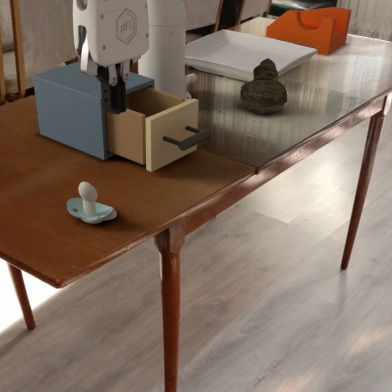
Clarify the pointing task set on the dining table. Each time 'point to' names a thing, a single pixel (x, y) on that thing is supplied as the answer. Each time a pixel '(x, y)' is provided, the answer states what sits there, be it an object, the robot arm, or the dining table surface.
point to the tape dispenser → (313, 28)
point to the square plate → (243, 54)
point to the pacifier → (89, 206)
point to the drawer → (154, 128)
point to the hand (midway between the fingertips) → (114, 110)
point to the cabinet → (76, 107)
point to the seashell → (264, 90)
